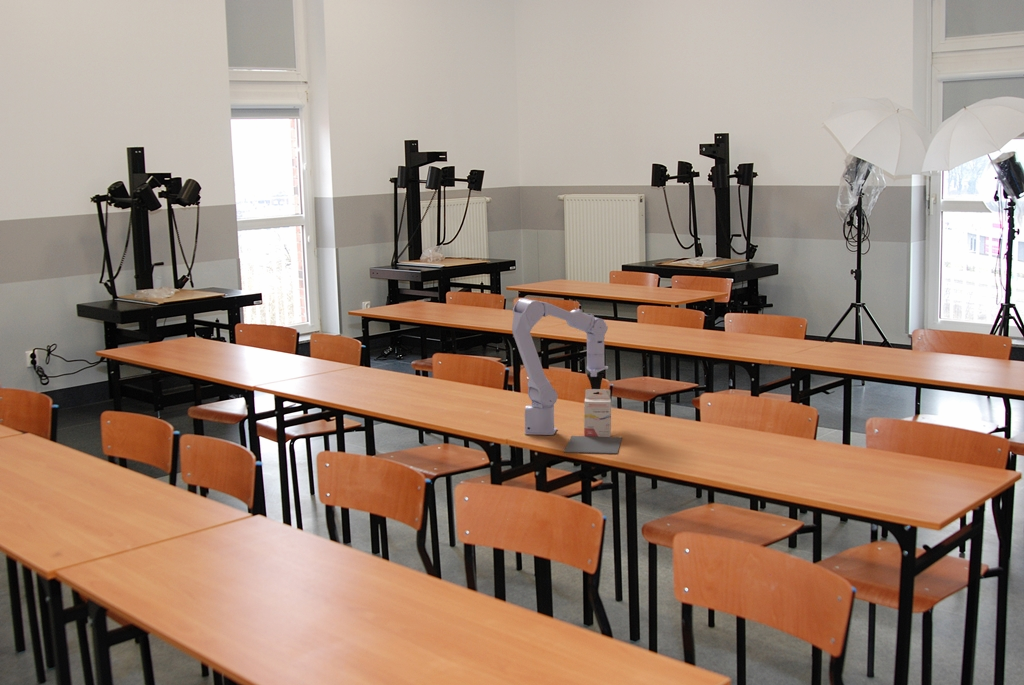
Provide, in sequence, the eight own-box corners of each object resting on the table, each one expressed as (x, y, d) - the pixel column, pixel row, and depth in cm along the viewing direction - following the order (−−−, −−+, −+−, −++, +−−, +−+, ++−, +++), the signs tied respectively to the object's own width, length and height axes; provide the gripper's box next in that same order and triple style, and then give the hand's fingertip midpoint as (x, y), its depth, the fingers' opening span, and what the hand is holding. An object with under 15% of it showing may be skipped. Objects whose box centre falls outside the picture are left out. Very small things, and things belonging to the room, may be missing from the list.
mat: (564, 452, 296) (564, 451, 296) (571, 437, 314) (571, 435, 314) (617, 454, 293) (617, 452, 293) (622, 438, 311) (622, 437, 311)
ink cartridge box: (584, 437, 313) (583, 392, 311) (584, 433, 318) (584, 388, 316) (611, 437, 312) (610, 392, 310) (611, 433, 317) (610, 388, 315)
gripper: (605, 357, 317) (606, 398, 319) (609, 349, 331) (610, 389, 333) (583, 357, 318) (584, 398, 321) (588, 349, 332) (589, 388, 335)
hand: (596, 393), depth 327 cm, fingers closed
